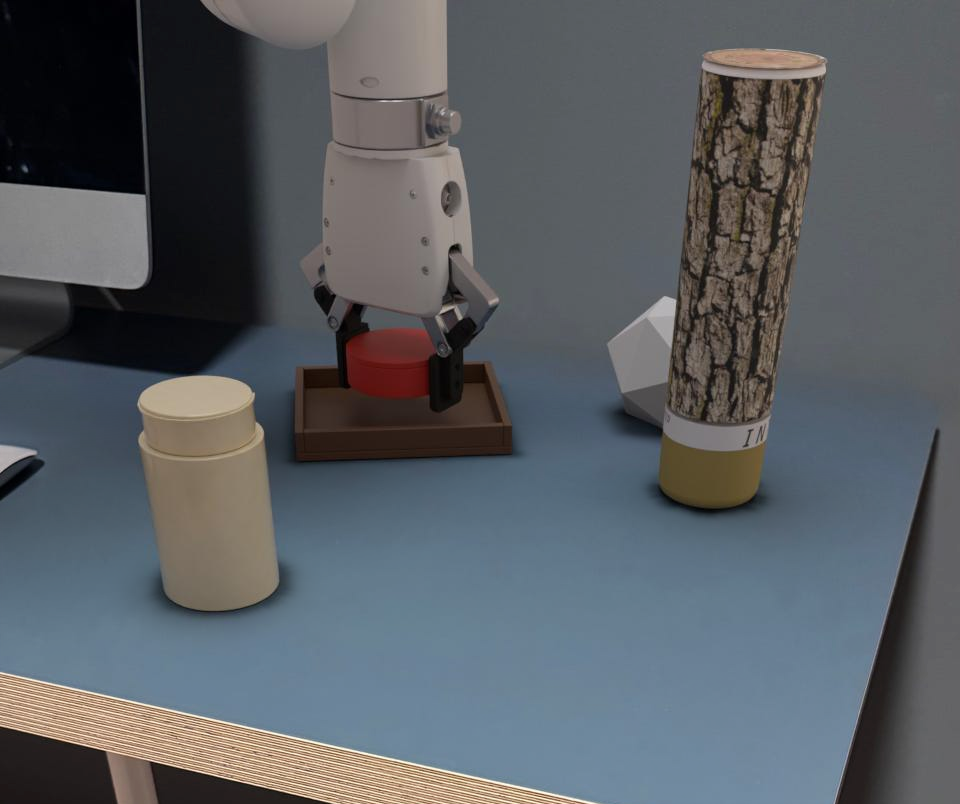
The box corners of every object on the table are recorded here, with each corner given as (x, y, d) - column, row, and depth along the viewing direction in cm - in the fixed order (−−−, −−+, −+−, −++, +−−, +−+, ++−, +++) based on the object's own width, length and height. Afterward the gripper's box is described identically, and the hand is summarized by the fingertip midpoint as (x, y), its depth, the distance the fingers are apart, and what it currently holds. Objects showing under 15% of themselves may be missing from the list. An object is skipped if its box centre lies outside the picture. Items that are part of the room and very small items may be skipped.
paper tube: (656, 510, 82) (704, 66, 66) (656, 468, 88) (700, 47, 71) (760, 515, 82) (834, 70, 66) (754, 473, 87) (821, 50, 71)
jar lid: (378, 356, 95) (376, 322, 94) (468, 370, 93) (468, 336, 92) (329, 389, 90) (326, 353, 88) (423, 405, 88) (422, 369, 86)
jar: (158, 614, 71) (124, 420, 64) (168, 558, 77) (137, 374, 69) (278, 608, 72) (258, 416, 65) (280, 554, 77) (261, 370, 70)
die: (749, 433, 94) (738, 298, 94) (714, 408, 86) (701, 259, 86) (643, 457, 98) (632, 327, 98) (599, 434, 90) (587, 293, 90)
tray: (297, 461, 88) (294, 432, 87) (297, 393, 98) (295, 366, 97) (511, 454, 89) (512, 425, 88) (490, 387, 99) (490, 360, 98)
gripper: (534, 128, 80) (526, 404, 91) (322, 99, 87) (339, 357, 98) (468, 149, 75) (468, 437, 86) (249, 116, 82) (276, 385, 94)
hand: (400, 393), depth 92 cm, fingers closed on jar lid, 7 cm apart
